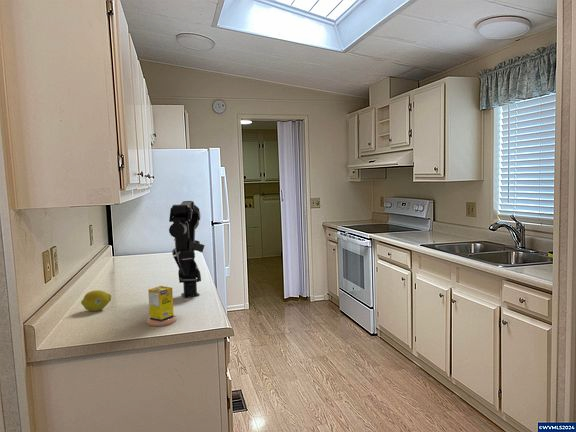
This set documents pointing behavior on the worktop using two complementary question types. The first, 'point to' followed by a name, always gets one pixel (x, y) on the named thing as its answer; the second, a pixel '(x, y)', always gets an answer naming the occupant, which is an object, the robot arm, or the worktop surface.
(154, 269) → the worktop surface
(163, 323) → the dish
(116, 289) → the worktop surface
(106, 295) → the lemon
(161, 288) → the supplement box
